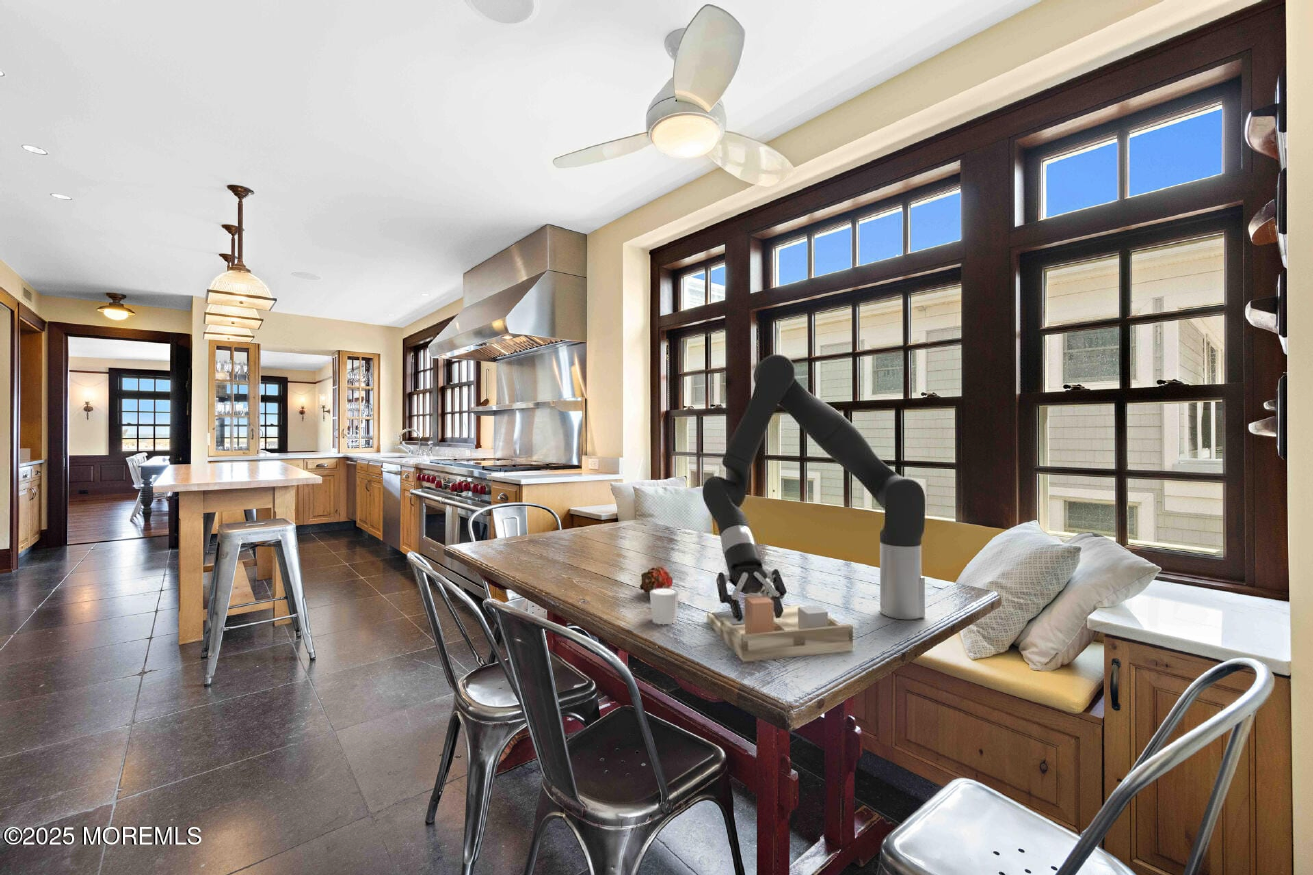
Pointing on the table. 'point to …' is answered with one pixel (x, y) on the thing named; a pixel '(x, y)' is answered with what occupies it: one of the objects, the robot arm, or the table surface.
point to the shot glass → (664, 605)
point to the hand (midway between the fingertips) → (759, 617)
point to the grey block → (812, 617)
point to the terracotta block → (759, 614)
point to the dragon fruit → (655, 579)
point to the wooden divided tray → (781, 636)
